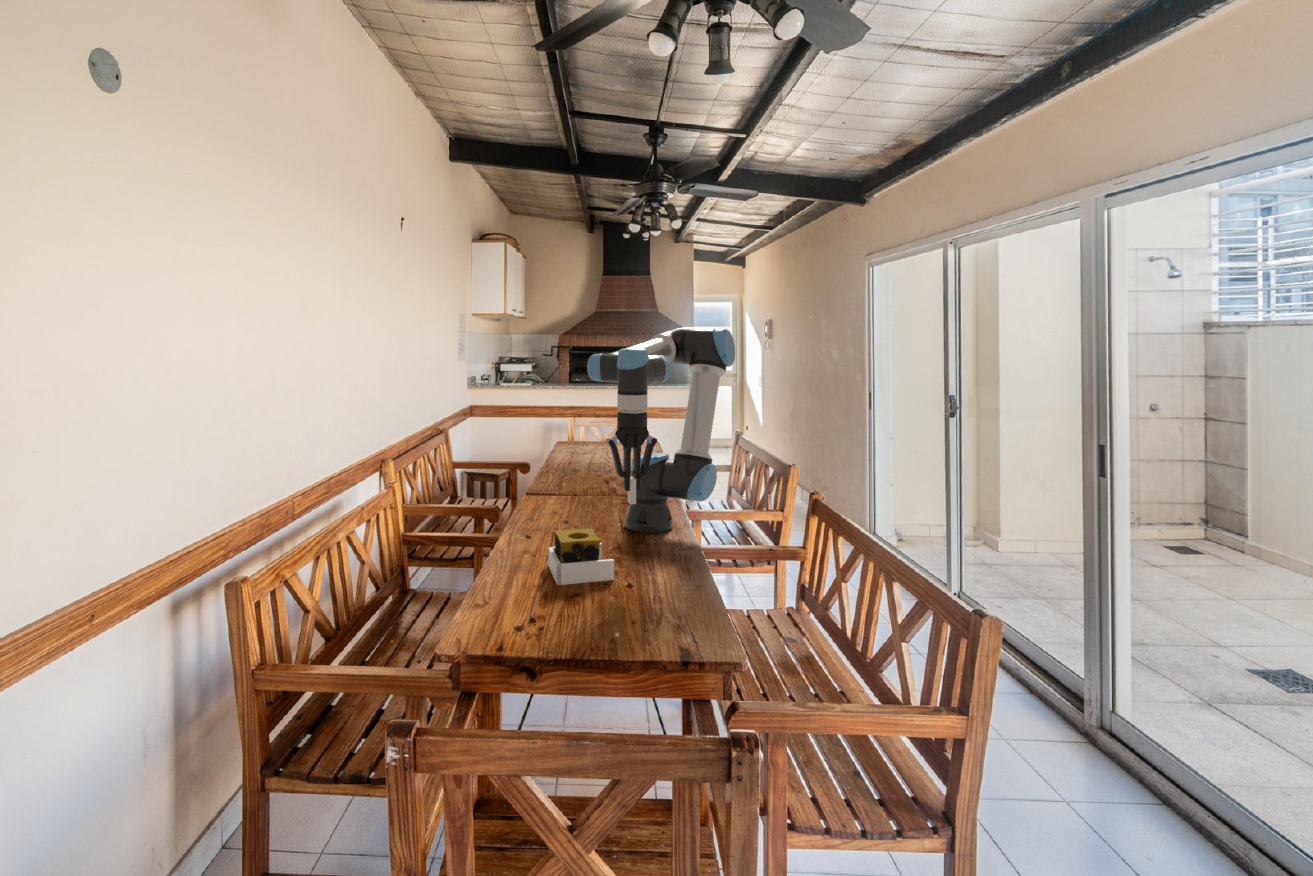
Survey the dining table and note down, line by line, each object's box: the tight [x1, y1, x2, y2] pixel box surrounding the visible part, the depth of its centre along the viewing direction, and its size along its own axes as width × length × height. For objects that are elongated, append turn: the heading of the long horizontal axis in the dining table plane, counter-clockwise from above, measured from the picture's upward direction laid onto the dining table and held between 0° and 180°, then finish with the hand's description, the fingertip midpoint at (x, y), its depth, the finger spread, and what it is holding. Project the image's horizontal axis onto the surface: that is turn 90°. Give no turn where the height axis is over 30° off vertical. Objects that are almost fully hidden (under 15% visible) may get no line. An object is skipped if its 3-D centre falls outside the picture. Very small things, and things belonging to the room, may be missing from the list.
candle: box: [554, 528, 601, 563], centre depth 160 cm, size 10×10×10 cm
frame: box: [547, 542, 615, 586], centre depth 160 cm, size 14×14×5 cm
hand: (631, 502), depth 162 cm, fingers closed
